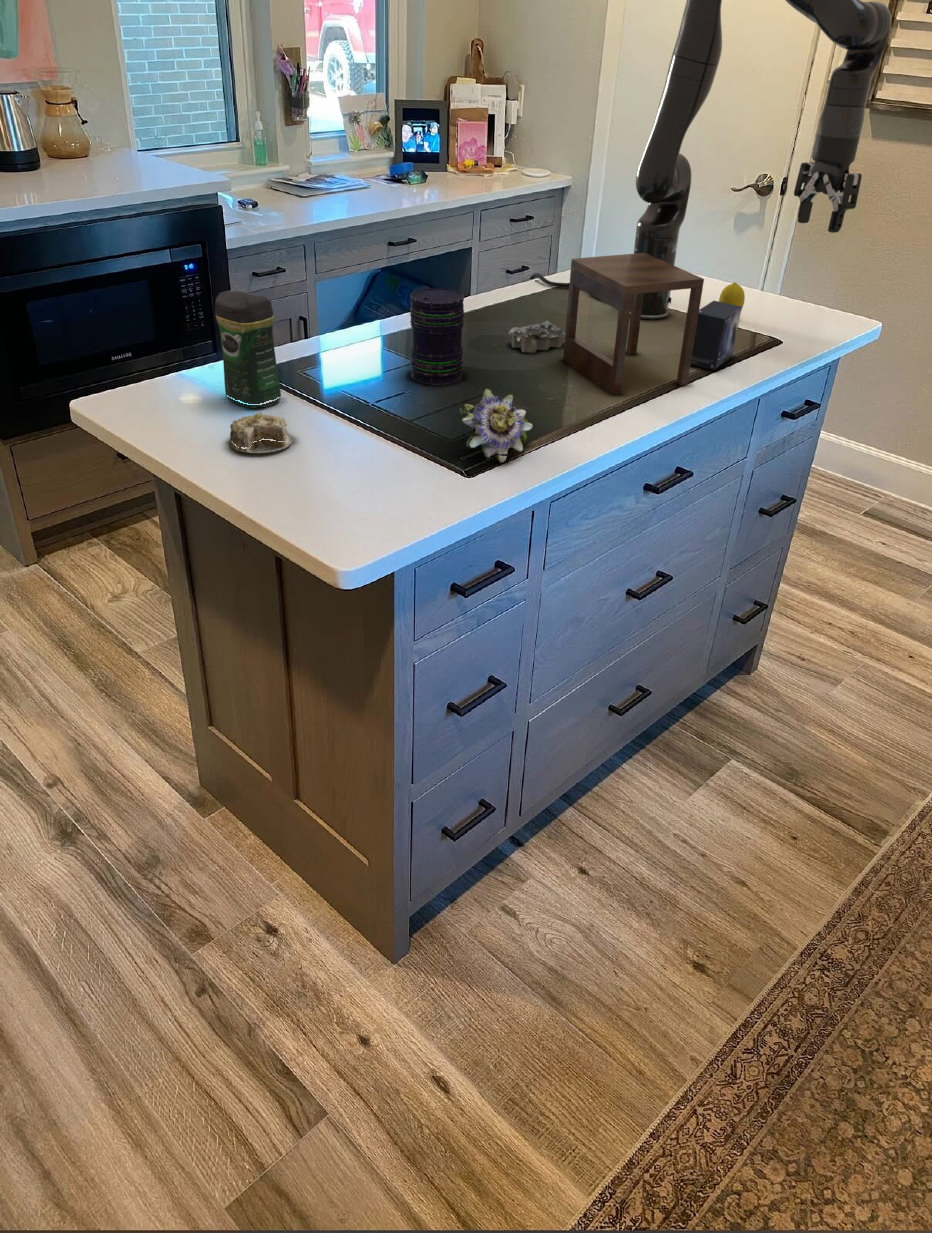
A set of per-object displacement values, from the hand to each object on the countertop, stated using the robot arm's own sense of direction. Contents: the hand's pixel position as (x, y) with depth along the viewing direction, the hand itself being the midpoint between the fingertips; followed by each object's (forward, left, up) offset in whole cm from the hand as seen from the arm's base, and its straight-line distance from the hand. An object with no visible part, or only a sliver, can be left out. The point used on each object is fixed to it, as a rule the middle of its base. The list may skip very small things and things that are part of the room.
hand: (817, 227), depth 180 cm
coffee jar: (-11, -108, -25) cm, 112 cm away
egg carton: (-22, -47, -25) cm, 58 cm away
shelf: (-2, -38, -25) cm, 46 cm away
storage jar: (-12, -73, -25) cm, 78 cm away
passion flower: (+23, -77, -25) cm, 84 cm away
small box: (-2, -18, -25) cm, 31 cm away
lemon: (-25, +3, -25) cm, 35 cm away
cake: (+8, -111, -25) cm, 114 cm away
